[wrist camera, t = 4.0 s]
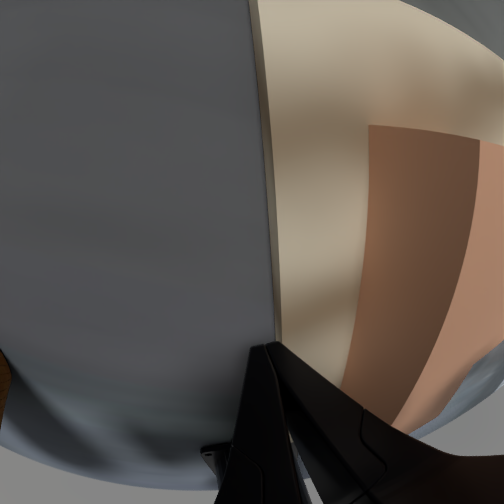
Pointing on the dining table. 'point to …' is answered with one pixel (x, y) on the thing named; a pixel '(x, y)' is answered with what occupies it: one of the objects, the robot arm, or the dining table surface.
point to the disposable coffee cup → (4, 384)
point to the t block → (426, 272)
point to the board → (349, 141)
